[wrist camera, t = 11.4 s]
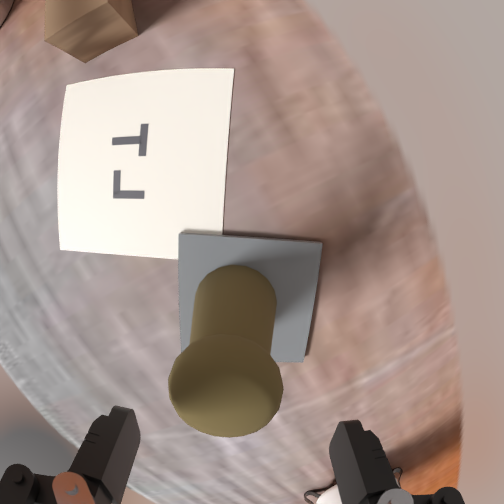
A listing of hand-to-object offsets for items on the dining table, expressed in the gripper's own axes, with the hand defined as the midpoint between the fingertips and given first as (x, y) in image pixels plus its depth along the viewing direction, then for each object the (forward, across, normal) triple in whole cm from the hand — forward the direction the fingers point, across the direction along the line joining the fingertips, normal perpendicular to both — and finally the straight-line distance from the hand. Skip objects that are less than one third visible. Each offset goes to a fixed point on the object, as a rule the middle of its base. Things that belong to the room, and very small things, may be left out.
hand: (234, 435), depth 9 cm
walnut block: (+13, +13, -22) cm, 28 cm away
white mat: (+13, +9, -10) cm, 18 cm away
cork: (+12, 0, 0) cm, 12 cm away
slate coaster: (+13, 0, 0) cm, 13 cm away
